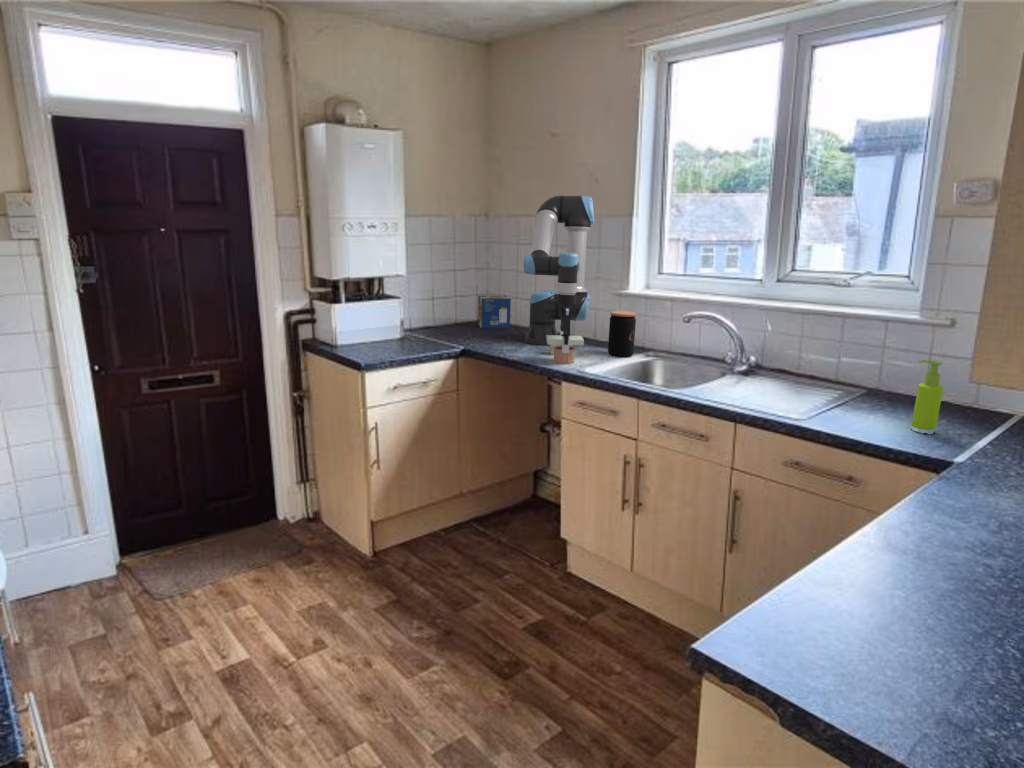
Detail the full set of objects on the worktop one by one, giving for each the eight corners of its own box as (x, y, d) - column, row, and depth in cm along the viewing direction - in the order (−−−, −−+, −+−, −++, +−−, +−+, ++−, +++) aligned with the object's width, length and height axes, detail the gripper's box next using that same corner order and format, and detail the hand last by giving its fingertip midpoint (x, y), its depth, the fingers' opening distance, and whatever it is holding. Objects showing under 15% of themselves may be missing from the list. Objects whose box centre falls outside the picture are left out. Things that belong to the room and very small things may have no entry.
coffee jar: (633, 358, 275) (636, 315, 271) (606, 356, 277) (609, 313, 273) (633, 353, 285) (636, 311, 281) (608, 352, 287) (611, 310, 283)
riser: (549, 352, 284) (550, 337, 283) (571, 352, 284) (571, 337, 283) (550, 354, 278) (551, 339, 277) (572, 355, 278) (573, 340, 277)
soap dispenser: (912, 425, 192) (924, 357, 187) (938, 432, 187) (951, 362, 182) (902, 429, 189) (915, 359, 184) (929, 435, 183) (942, 364, 178)
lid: (546, 339, 269) (546, 334, 268) (581, 340, 269) (581, 335, 268) (547, 344, 259) (547, 339, 258) (583, 345, 259) (583, 340, 259)
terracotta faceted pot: (553, 359, 270) (553, 346, 268) (573, 359, 270) (573, 346, 268) (554, 363, 262) (554, 349, 260) (574, 364, 262) (575, 350, 260)
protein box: (477, 325, 349) (477, 295, 346) (506, 324, 353) (507, 295, 349) (480, 328, 340) (481, 297, 336) (510, 328, 343) (511, 297, 339)
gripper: (555, 290, 270) (553, 344, 276) (559, 296, 248) (556, 355, 254) (573, 290, 270) (571, 344, 276) (579, 297, 248) (576, 356, 254)
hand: (564, 350), depth 265 cm, fingers closed on lid, 10 cm apart
